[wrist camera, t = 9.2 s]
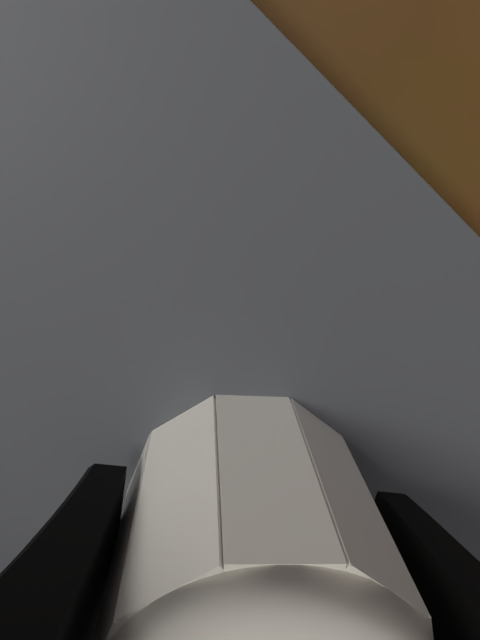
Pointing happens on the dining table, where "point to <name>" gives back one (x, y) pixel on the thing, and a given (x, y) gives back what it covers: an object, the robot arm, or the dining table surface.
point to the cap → (254, 535)
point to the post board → (217, 257)
